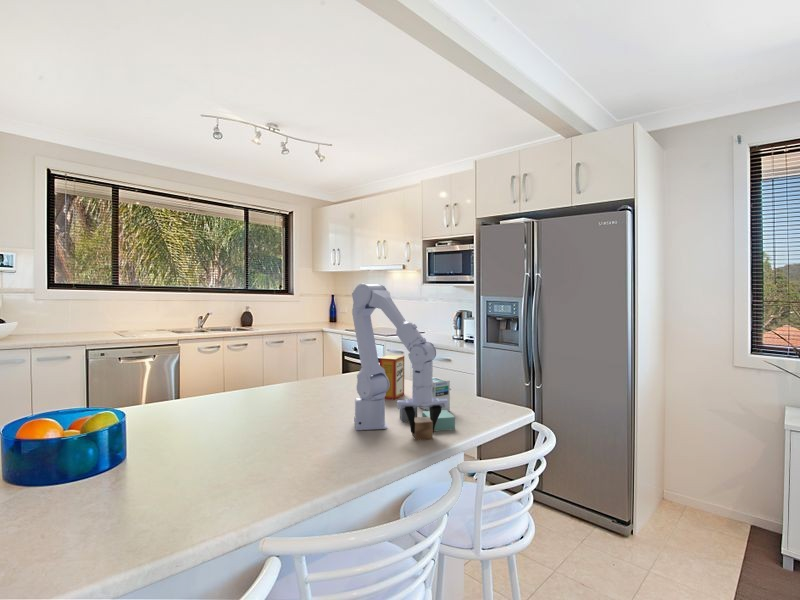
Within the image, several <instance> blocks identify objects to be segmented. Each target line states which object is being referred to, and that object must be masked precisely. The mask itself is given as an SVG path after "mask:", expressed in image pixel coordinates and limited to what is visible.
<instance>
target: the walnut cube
mask: <svg viewBox="0 0 800 600" xmlns="http://www.w3.org/2000/svg"><path fill="white" fill-rule="evenodd" d="M414 427H415V432H414V434H412V433H411V435H412V437H413V438H415V439H414V441H415V440H416V441H433V438H434V433H433V422H432V420H431V419H430V418H429V417H422V416H420V417H419V416H417V417H415V418H414Z"/></svg>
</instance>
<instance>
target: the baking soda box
mask: <svg viewBox="0 0 800 600" xmlns="http://www.w3.org/2000/svg"><path fill="white" fill-rule="evenodd" d="M379 365H380V366H381V367H382V368H383V369H384V370H385V374H386V376H387V378H388V379H389V383H390V386H389V389H388V391H387V392H386V396H385V400H392V399H393V400H392V401H395V399H396V400H398V398H400V396H401V397H402V396H404V395H405V355H398V354H397V355H395V354H388V355H383V356H381V357H380V358H379Z"/></svg>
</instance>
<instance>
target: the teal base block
mask: <svg viewBox="0 0 800 600" xmlns="http://www.w3.org/2000/svg"><path fill="white" fill-rule="evenodd" d="M421 413H422V414H421V417H429V418H430V411H428V410H425V411H422V412H421ZM447 429H452V430H455V429H456V416H454V415H453V414H452V413H450V412H449V411H447V410H441V413H440V415H439V417H438V419H437V421H436V424H435V428H434V432H436V430H439V431H447Z"/></svg>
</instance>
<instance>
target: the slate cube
mask: <svg viewBox="0 0 800 600" xmlns="http://www.w3.org/2000/svg"><path fill="white" fill-rule="evenodd" d="M413 409H414V412H415V417H418V407H414V408H413ZM399 420H400V421H401V423H409V420H408V417H407V414H406V412H405V410H404V408H402V409H399Z"/></svg>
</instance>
